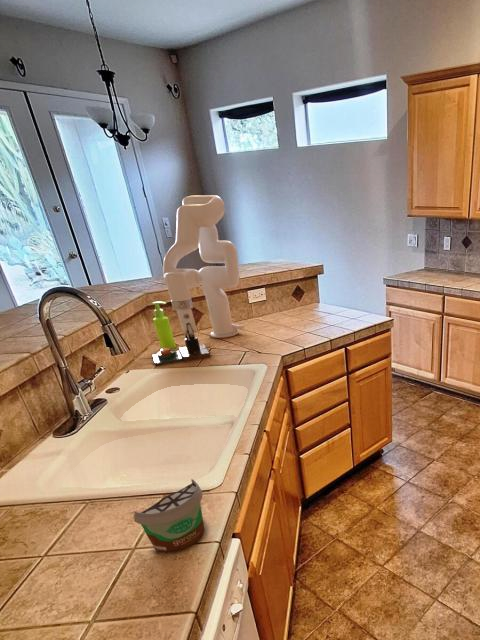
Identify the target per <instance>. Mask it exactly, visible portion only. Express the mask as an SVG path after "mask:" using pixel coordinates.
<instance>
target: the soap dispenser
mask: <svg viewBox="0 0 480 640" xmlns="http://www.w3.org/2000/svg"><path fill="white" fill-rule="evenodd" d="M166 304H167V302H166V301H154V302H151V305H154V308H155V309H154V310H153V312H154V316H155V317H154V318H153V319H152V321H153V324H154V328H155V332H156V335H157V338H158V342H159V346H160V349H163V348H170V350H172V349H174V348H176V347H177V346H176V342H175V341H176V340H175V338H174V335H173V334H174V333H173V330H172V326H171V323H170V319H169V316H166V315H165V312H164V310H163V309H162V308H161V306H160V305H166Z"/></svg>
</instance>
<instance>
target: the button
mask: <svg viewBox="0 0 480 640" xmlns="http://www.w3.org/2000/svg"><path fill="white" fill-rule="evenodd" d="M170 350H171V349H170V348H163V349H162V348H160V349H159V352H161V354H168V353H171V351H170Z"/></svg>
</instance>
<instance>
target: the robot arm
mask: <svg viewBox="0 0 480 640" xmlns="http://www.w3.org/2000/svg"><path fill="white" fill-rule="evenodd" d="M181 203H182V205H180V206H179V207H178V208H177V210H176V229H175V232H176V233H175V242H174V243H173V244H172V246H170V248H169V249H168V251H167V252H166V254H165V256H164V259H163V265H162V266H163V267H162V275H163V281H164V283H165V285H166V288H167V291H168V295H169V299H170V302H171V306H172V310H173V311H176V312H177V317H178V320H179V324H180V327H181V330H182V331H183V333H184V337H185V338H187V339H188V343H189V347H190V350H194V349H198V344H197V340H196V338H195V337H196V333H197V334H198V328H197V324H196V321H195V316H194V313H193V310H192V309H193V308H194V303H193V300H192V294H191V290H190V289H196V288H199V287H202V290H203V294H204V296H205V301H206V306H207V309H208V315H209V319H210V323H211V328H212V331H211V332H210V335H209V336H210V337H211V338H214V339H224V338H225V339H226V338H232V337H234V336H236V335H238V334H239V331H238V330H242V329H243V330H244V329H245V325H244V324H234V323H233V319H232V313H231V307H230V302H229V298H228V295H227V294H226V292H225V290H224V289H235V288H237V287H238V286H239V285H240V270H239V258H238V257H239V256H238V252H237V251H238V250H237V248H236V245H235V244H234V243H233V242H232V241H230V240H223V239H222V240H221V239H219V233H218V228H217V226H216V225H217V224H218V223H219V221H221V220H222V218H223V217H224V216H225V213H226V205H225V202H224V200H223V199H222V198H221V197H220V196H218V195H209V194H207V195H206V194H205V195H187V196H185V197H184V198H183V199H182V202H181ZM197 249H199V250H198V251H199V256H200V259H201V261H203V262H204V263H207V264H224V265H207V266H203V267H201V268H200V269H199V270H198V269H196V268H177V265H178V263H179V262H180V260H181V259H183V258H184V257H185V256H187V255H189V254H191V253H192V252H195V251H196V250H197Z"/></svg>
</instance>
